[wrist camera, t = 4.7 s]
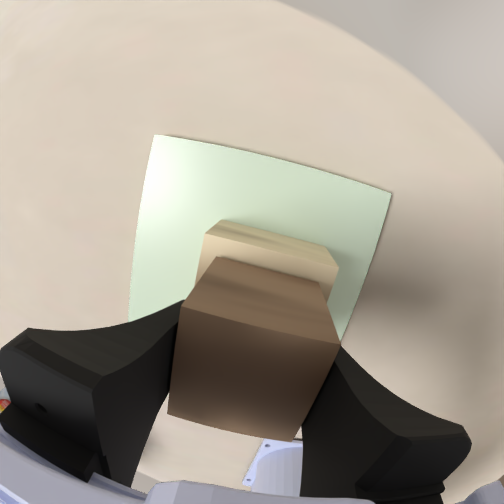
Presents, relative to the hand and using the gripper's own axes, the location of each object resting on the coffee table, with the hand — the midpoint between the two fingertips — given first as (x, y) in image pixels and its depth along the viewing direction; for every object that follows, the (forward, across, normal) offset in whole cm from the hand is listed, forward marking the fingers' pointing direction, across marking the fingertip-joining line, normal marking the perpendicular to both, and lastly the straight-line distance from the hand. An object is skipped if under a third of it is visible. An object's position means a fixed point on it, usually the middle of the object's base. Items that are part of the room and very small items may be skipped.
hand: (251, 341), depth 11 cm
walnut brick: (+2, 0, 0) cm, 2 cm away
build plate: (+8, +1, +1) cm, 8 cm away
